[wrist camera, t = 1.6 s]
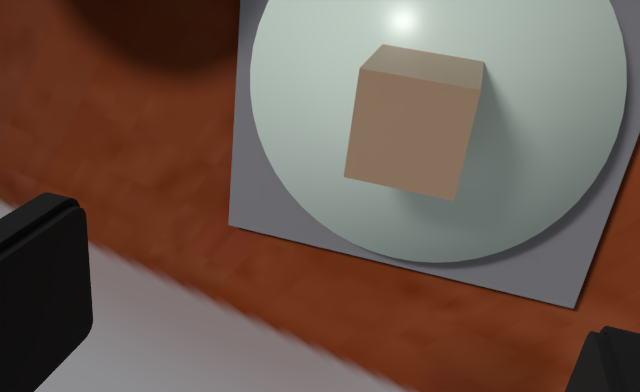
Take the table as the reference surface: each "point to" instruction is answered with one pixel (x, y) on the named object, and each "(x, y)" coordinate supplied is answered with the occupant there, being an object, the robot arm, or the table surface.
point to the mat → (489, 271)
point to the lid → (438, 116)
